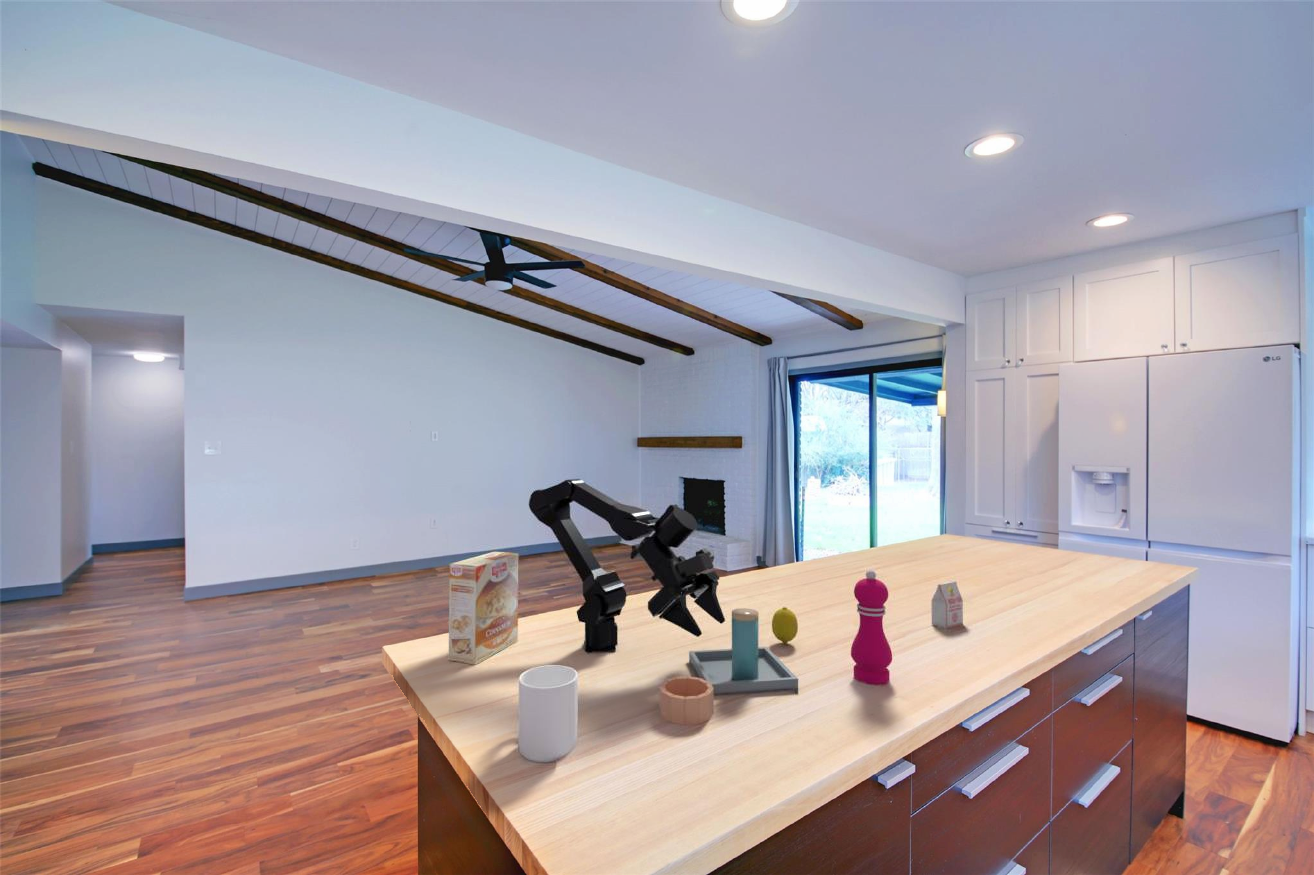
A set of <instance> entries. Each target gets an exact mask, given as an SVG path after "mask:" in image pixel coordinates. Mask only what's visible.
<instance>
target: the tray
mask: <svg viewBox="0 0 1314 875" xmlns="http://www.w3.org/2000/svg"><path fill="white" fill-rule="evenodd" d="M688 658H689V659H688V663H689V664H690V665H691V667H692V668H693V670H694V672H695V674H696V676H697V678H701V679H704V680H706V681H708V682H710V683H711V685H712V687H713V688H714V697H715V696H730V695H731V696H733V695H745V694H748V695H749V694H761V693H770V692H771V693H772V692H787V691H788V692H789V691H792V692H794V693H795V694H799V678H798V677H797V676H796V675H795V674H794V673H793V672H792V671H791V670H790V669H789V668H788V667H787V666H786V664H784V663H783V661H781V660H780V659H779V657H777V656H776V655H775V653H773V651H771V649H769V648H768V647H767V646H758V661H759V679H757V680H742V681H733V680H732V648H724V649H723V648H722V649H705V650H704V649H703V650H689V651H688Z"/></svg>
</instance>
